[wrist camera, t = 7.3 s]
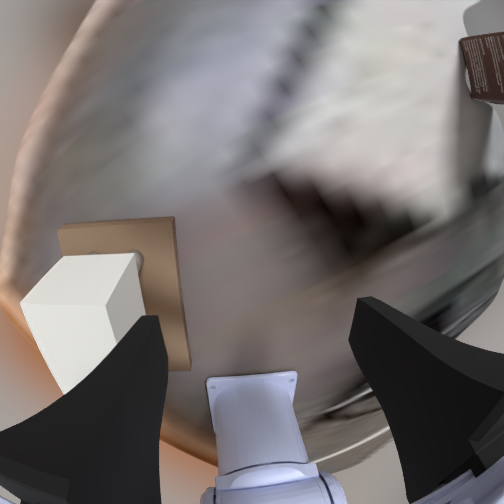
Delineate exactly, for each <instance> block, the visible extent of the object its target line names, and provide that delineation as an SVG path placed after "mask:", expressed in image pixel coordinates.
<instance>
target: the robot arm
mask: <svg viewBox="0 0 504 504" xmlns="http://www.w3.org/2000/svg"><path fill="white" fill-rule="evenodd" d="M348 340H349V343H350V346H351V349H352V351H353V354H354V356H355V359H356V361H357V363H358V365H359V367H360V369H361V371H362V372H363V374H364V376H365V378H366V380H367V381H368V383H369V385H370V387H371V389H372V390H373V392H374V394H375V396H376V398H377V399H378V401H379V403H380V405H381V407H382V409H383V411H384V413H385V416H386V419H387V421H388V424H389V427H390V429H391V432H392V435H393V438H394V441H395V444H396V448H397V451H398V455H399V458H400V463H401V467H402V471H403V476H404V482H405V488H406V495H407V499H408V502H409V504H504V354H502V353H497V352H492V351H488V350H484V349H481V348H478V347H474V346H471V345H468V344H465V343H462V342H460V341H458V340H455V339H453V338H450V337H448V336H446V335H443V334H441V333H439V332H437V331H435V330H433V329H431V328H429V327H427V326H425V325H423V324H421V323H420V322H418V321H416V320H414V319H412V318H411V317H409V316H407V315H405V314H403V313H402V312H400V311H398V310H396V309H395V308H393V307H391V306H389V305H388V304H386V303H384V302H382V301H380V300H378V299H376V298H374V297H372V296H370V297H363V298H357V303H356V308H355V313H354V318H353V322H352V327H351V331H350V335H349V339H348ZM290 379H291V380H290ZM167 382H168V354H167V350H166V346H165V342H164V338H163V334H162V330H161V326H160V321H159V317H158V315H142V316H141V317H140V318H139V319H138V320H137V321H136V322H135V324H134V325H133V326H132V327H131V328H130V329H129V331H128V332H127V333H126V334H125V335H124V337H123V338H122V339H121V340H120V341H119V342H118V344H117V345H116V346H115V347H114V348H113V349H112V350H111V352H110V353H109V354H108V355H107V356H106V357H105V358H104V359H103V360H102V361H101V362H100V363H99V364H98V365H97V366H96V368H95V369H94V370H93V371H92V372H91V373H89V374H88V375H87V376H86V377H85V378H84V379H83V380H82V381H81V382H79V383H78V384H77V385H76V386H75V387H74V388H72V389H71V390H70V391H69V392H67V393H66V394H65V395H63V396H62V397H61V398H59V399H58V400H56V401H55V402H54V403H52V404H51V405H50V406H48V407H47V408H45V409H43V410H42V411H40V412H39V413H37V414H35V415H34V416H32V417H30V418H28V419H26V420H25V421H23V422H21V423H19V424H16V425H14V426H12V427H10V428H8V429H5V430H3V431H1V432H0V485H1V486H2V487H4V488H5V489H6V490H8V491H9V492H10V493H12V494H13V495H15V496H16V497H18V498H20V499H21V503H20V504H161V493H160V477H159V438H160V429H161V422H162V415H163V408H164V402H165V395H166V389H167ZM296 382H297V373H296V371H286V372H277V373H268V374H257V375H245V376H230V377H211V378H208V379H207V381H206V384H207V391H208V398H209V404H210V410H211V416H212V422H213V428H214V432H215V433H216V445H217V458H218V471H219V476H216V477H215V482H216V487H209V488H207V489H206V491H205V492H204V493H203V494H202V496H201V499H200V504H347V500H346V497H345V494H344V491H343V489H342V487H341V485H340V483H339V481H338V480H337V479H336V477H334V476H333V475H331V474H329V473H328V472H326V471H321V472H318V470H317V467H316V463H309V460H308V457H307V453H306V450H305V447H304V443H303V440H302V437H301V433H300V430H299V427H298V423H297V420H296V417H295V413H294V410H293V406H292V403H293V398H294V393H295V387H296ZM0 504H15V503H13V502H11V501H9V500H7V499H6V498H4V497H2V496H0Z"/></svg>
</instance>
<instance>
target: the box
mask: <svg viewBox="0 0 504 504" xmlns="http://www.w3.org/2000/svg"><path fill="white" fill-rule="evenodd" d="M460 40H461V44H462V47H463V51H464V55H465V60H466V64H467V69H468V74H469V79H470V85H471V92H472V99H474V100H479V101H485V102H490V103H494V104H504V32H497V33H490V34H483V35H477V36H470V37H465V38H461V39H460Z"/></svg>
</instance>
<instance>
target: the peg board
mask: <svg viewBox="0 0 504 504" xmlns="http://www.w3.org/2000/svg"><path fill="white" fill-rule="evenodd" d="M57 234H58V239H59V244H60V248H61V253H62V257H63V256H78V255H101V254H124V253H135V259H136V265H137V271H138V277H139V282H140V288H141V293H142V298H143V303H144V308H145V313H146V315H158V317H159V321H160V326H161V330H162V334H163V338H164V342H165V346H166V350H167V354H168V370H191V362H192V359H191V353H190V347H189V341H188V334H187V327H186V320H185V313H184V306H183V298H182V290H181V281H180V272H179V262H178V252H177V241H176V229H175V217H157V218H140V219H124V220H110V221H97V222H85V223H73V224H64V225H63V226H62V227H60V228H59V229H58V230H57Z"/></svg>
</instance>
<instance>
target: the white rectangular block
mask: <svg viewBox="0 0 504 504" xmlns="http://www.w3.org/2000/svg"><path fill="white" fill-rule="evenodd" d="M20 305H21V308H22V310H23V313H24V315H25V318H26V320H27V323H28V325H29V327H30V330H31V332H32V334H33V336H34V339H35V341H36V343H37V345H38V347H39V349H40V351H41V353H42V355H43V357H44V359H45V361H46V363H47V365H48V367H49V369H50V371H51V372H52V374H53V376H54V378H55V380H56V382H57V383H58V385H59V387H60V388H61V390H62V392H63V393H64V395H65V394H66V393H67V392H69V391H70V390H71V389H72V388H74V387H75V386H76V385H77V384H78V383H79V382H81V381H82V380H83V379H84V378H85V377H86V376H87V375H88V374H89V373H91V372H92V371H93V370H94V369H95V368H96V366H97V365H98V364H99V363H100V362H101V361H102V360H103V359H104V358H105V357H106V356H107V355H108V354H109V353H110V352H111V350H112V349H113V348H114V347H115V346H116V345H117V344H118V342H119V341H120V340H121V339H122V338H123V337H124V335H125V334H126V333H127V332H128V331H129V329H130V328H131V327H132V326H133V325H134V324H135V322H136V321H137V320H138V319H139V318H140V317H141V316H142V315H146V313H145V308H144V303H143V298H142V293H141V288H140V282H139V277H138V271H137V265H136V259H135V253H124V254H101V255H78V256H63V257H62V258H61V259H60V260H59V261H58V262H57V263H56V264H55V265H54V266H53V267H52V268H51V269H50V270H49V272H48V273H47V274H46V275H45V276H44V277H43V278H42V279H41V280H40V281H39V282H38V283H37V284H36V285H35V286H34V288H33V289H32V290H31V291H30V292H29V293H28V294H27V295H26V297H25V298H24V299H23V300H22V301H21V302H20Z"/></svg>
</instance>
